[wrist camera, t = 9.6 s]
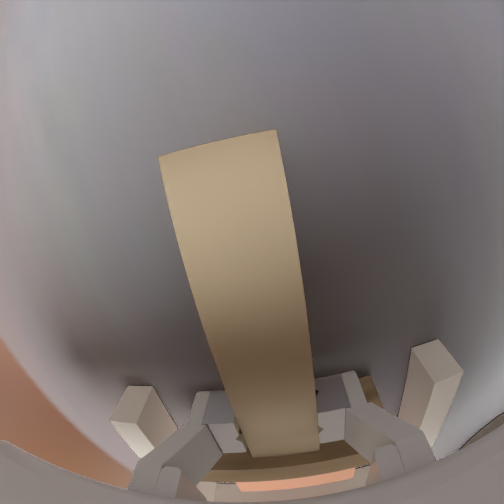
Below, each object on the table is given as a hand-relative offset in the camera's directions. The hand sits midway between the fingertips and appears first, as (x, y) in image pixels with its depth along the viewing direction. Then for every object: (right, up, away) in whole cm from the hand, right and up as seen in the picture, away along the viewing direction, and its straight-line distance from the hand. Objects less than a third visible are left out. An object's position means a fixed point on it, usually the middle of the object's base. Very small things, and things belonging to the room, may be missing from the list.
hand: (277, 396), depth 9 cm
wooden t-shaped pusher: (-1, +3, +1) cm, 4 cm away
